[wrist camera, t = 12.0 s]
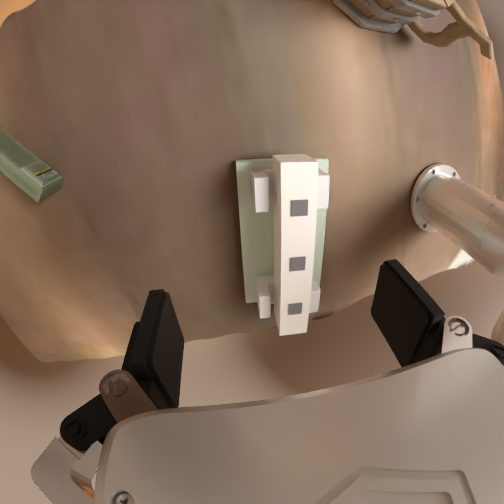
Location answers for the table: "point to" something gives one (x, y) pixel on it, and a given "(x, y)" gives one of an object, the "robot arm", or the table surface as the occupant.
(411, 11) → the tankard
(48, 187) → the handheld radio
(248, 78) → the table surface
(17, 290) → the table surface
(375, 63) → the table surface
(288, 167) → the power strip
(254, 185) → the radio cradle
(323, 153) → the table surface
